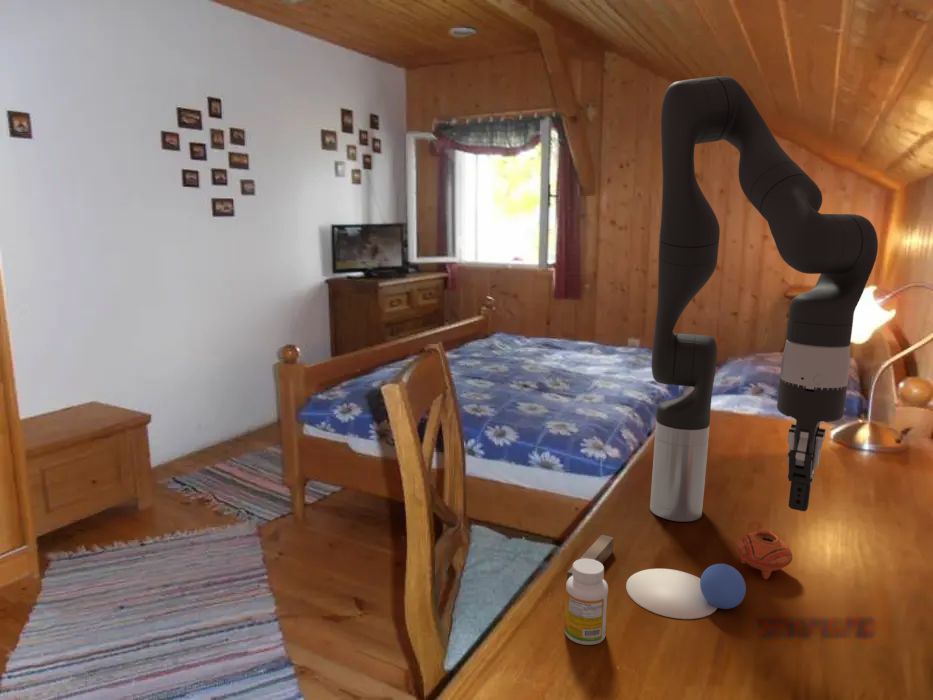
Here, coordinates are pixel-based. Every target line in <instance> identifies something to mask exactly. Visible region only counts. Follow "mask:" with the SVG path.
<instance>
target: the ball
mask: <svg viewBox="0 0 933 700" xmlns="http://www.w3.org/2000/svg"><path fill="white" fill-rule="evenodd" d="M700 579H701V580H700V588H701V591H702V594H703V596H704V597H705V599H706V600H707V601H708V602H709V603H710V604H712V605H713V606H715V607H717V609H722V610H729V609H733V608H736V607H737V606H739V605H740V604H741V603H742V602H743V600H744V598H745V596H746V593H747V592H746V591H747V587H746V582H745V579H744V577H743V575H742V574H741V573H740V572H739V571H738V570H737V569H736V568H735V567H733V566H731V565H729V564H726V563H715V564H712V565H710V566H708V567H707V568H706V569H705V570H704V571H703V572H702V573H701V576H700Z"/></svg>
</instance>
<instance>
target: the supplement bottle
mask: <svg viewBox="0 0 933 700" xmlns="http://www.w3.org/2000/svg"><path fill="white" fill-rule="evenodd" d="M572 566H573V568H572V576H571V577H570V578H569V579H568V580H567V579H566V584H565V585H566V586H565V605H564V606H565V607H564V608H565V609H564V626H563V627H564V634H565V635H566V637H567V638H568V639H569V640H571V641H572V642H573V643H576V644H578V645H585V646H592V645H597V644H600V643H602V642H603V640H605V637H606V635H607V622H608V621H607V620H608V605H609V604H608V603H609V600H608V599H609V585H608V582H607V581H606V580H605V579H604V577H605V567H604V565H603V564H601V563H600V562H599V561H596V560H593V559H580V558H578V559H576V560H575V561H574V562H573V563H572Z"/></svg>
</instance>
